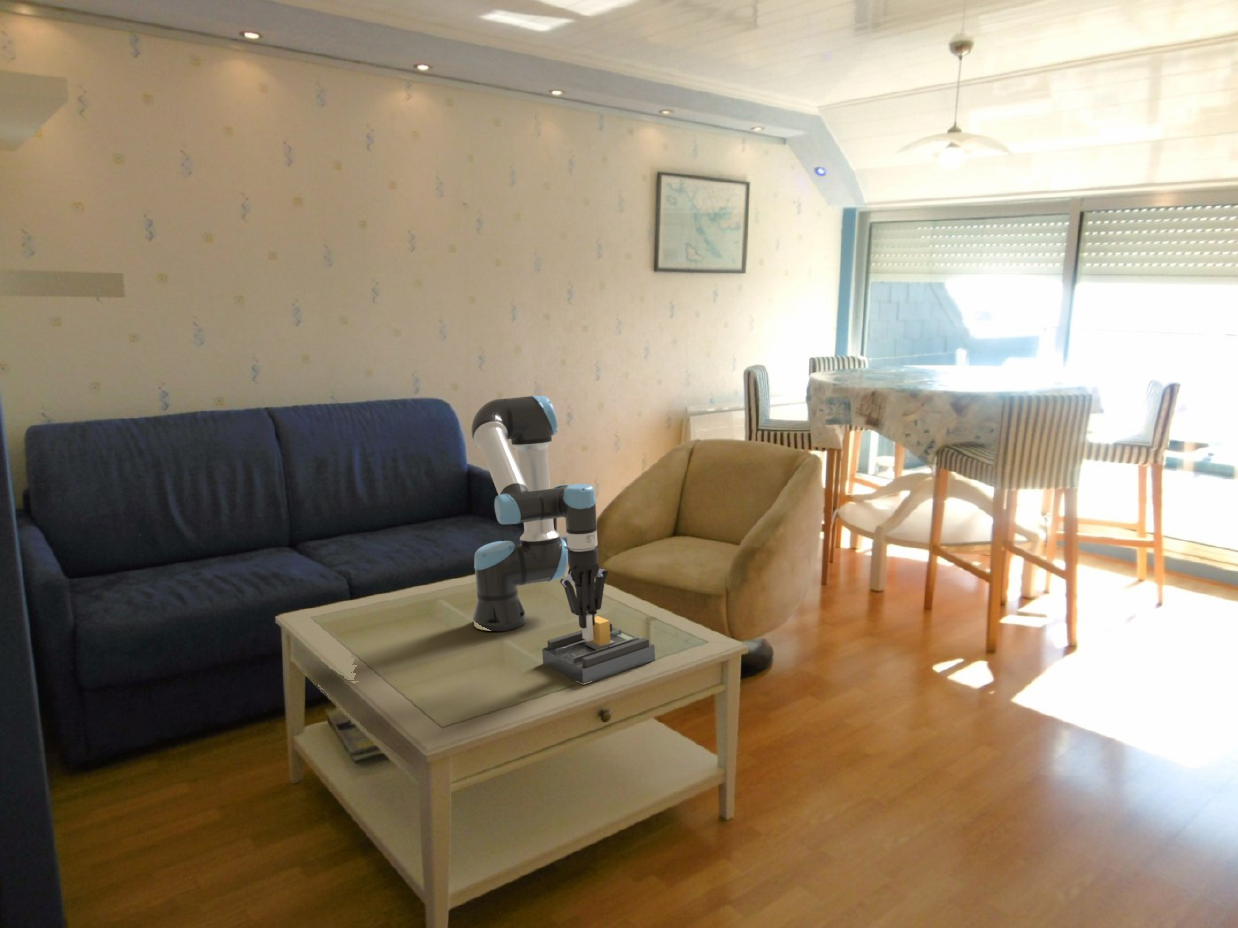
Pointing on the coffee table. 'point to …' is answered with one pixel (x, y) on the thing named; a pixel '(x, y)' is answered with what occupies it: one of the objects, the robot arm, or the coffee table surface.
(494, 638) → the coffee table surface
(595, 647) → the handle
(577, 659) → the grey rail base
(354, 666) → the coffee table surface
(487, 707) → the coffee table surface
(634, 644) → the pair of guide rails
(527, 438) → the robot arm
